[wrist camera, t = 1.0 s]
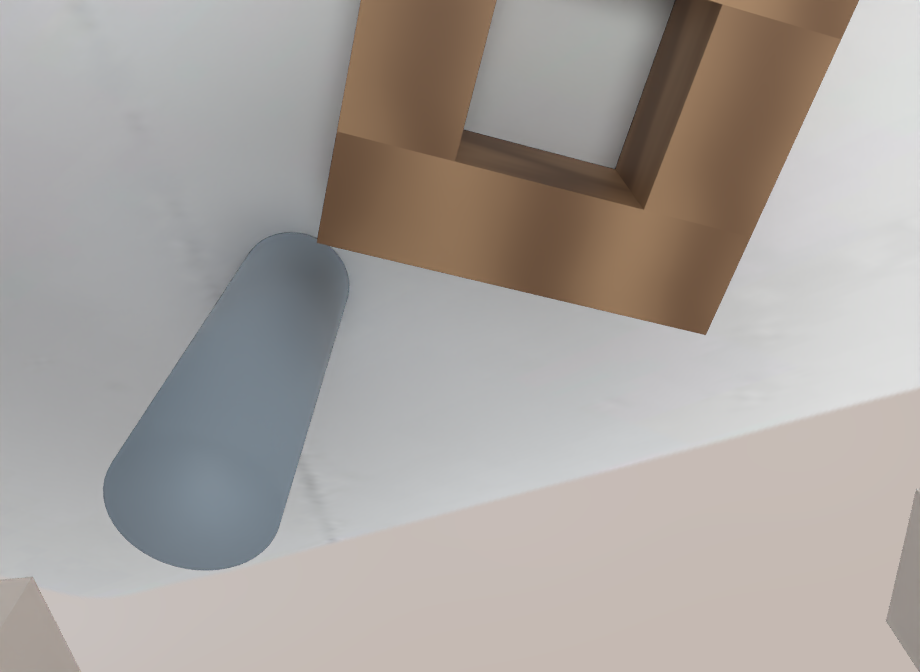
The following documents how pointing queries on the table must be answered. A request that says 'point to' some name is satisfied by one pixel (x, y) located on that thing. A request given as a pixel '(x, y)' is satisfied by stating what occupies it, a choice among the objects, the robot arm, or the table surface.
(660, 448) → the table surface
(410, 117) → the socket block
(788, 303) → the table surface
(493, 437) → the table surface
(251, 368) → the peg
